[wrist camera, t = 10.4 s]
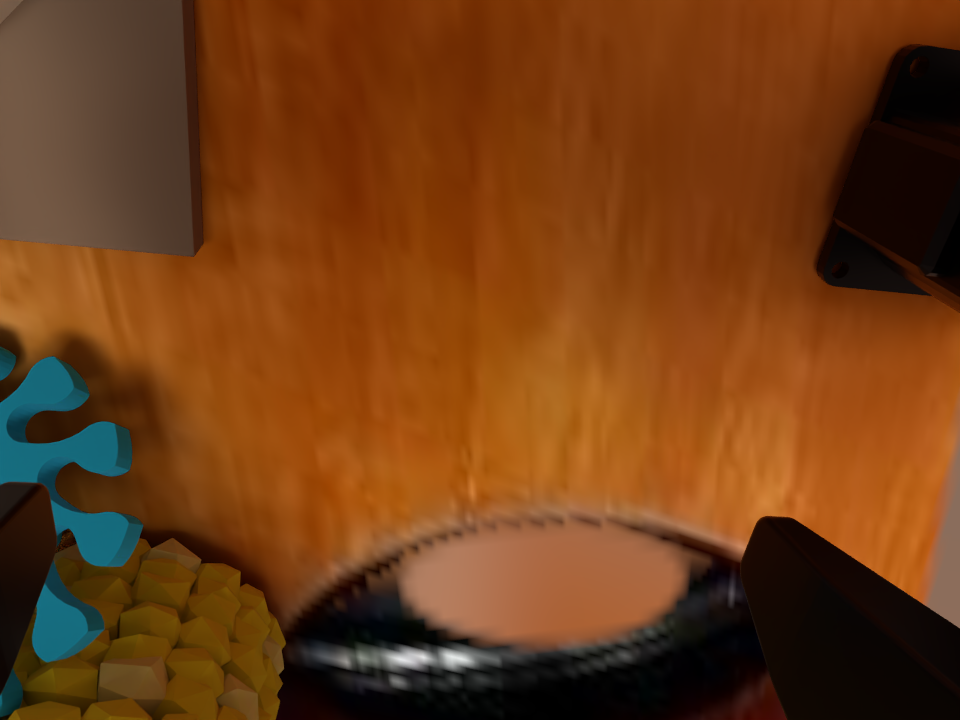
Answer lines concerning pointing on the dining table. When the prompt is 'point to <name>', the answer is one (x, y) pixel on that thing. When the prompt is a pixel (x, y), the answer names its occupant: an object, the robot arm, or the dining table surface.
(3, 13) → the seat ring
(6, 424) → the blue knobbed toy
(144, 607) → the food
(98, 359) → the dining table surface
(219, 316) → the dining table surface
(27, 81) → the board
